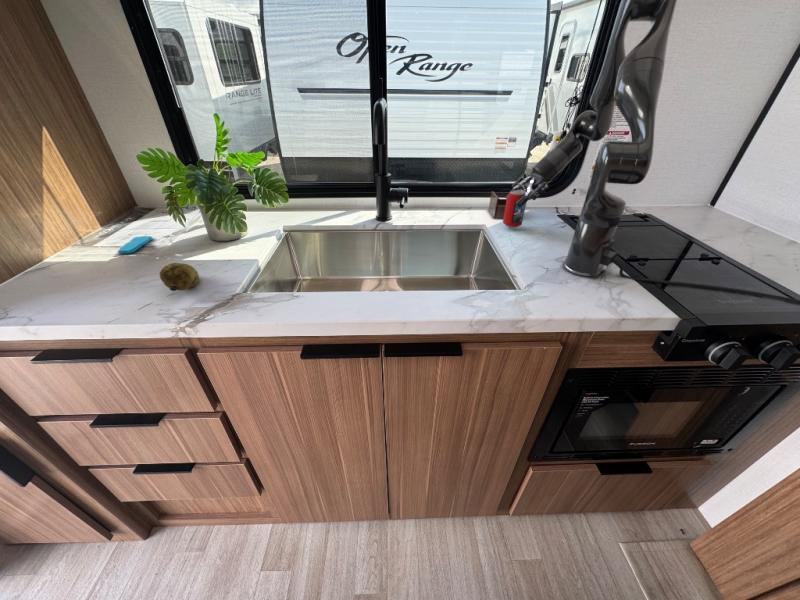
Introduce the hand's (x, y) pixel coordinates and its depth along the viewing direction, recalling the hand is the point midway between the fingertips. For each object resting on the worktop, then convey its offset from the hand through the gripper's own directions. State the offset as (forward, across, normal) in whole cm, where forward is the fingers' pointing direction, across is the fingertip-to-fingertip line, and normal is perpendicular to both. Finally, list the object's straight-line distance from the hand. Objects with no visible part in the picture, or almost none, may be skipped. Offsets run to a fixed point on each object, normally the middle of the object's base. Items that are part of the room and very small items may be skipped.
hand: (512, 202), depth 113 cm
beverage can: (+5, 0, +7) cm, 9 cm away
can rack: (+3, -15, +11) cm, 19 cm away
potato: (+79, +21, -66) cm, 105 cm away
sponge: (+97, -11, -84) cm, 128 cm away
